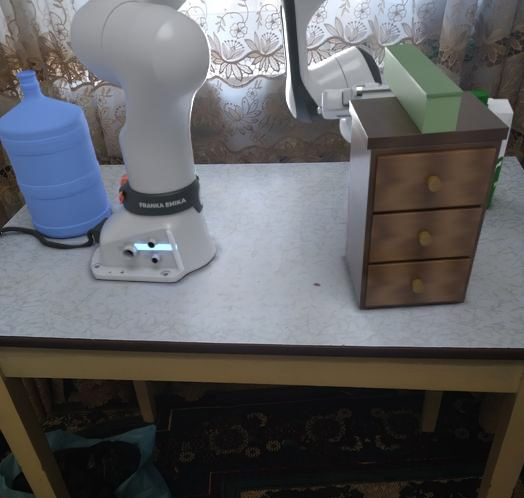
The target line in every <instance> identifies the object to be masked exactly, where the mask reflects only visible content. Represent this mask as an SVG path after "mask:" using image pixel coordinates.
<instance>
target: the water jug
mask: <svg viewBox="0 0 524 498" xmlns="http://www.w3.org/2000/svg"><path fill="white" fill-rule="evenodd" d="M36 74H37V72H36V71H35V70H32V69H31V70H29V69H27V70H23V71H19V72H16V74H15V76H16V78H18V82H19V87H20V89H21V91H22V94H23V99H22V101H20V102H19V103H17V104H16V105H15V106H14V107H12V108H11V109H10V110H9V111H8V112H6V113H5V114H4V115H2V116H1V117H0V142H1V144H2V147H3V149H4V151H5V152H6V155H7V157H8V160H9V162H10V165H11V167H12V170H13V172H14V175H15V180H16V183H17V186H18V188H19V190H20V192H21V194H22V197H23V199H24V201H25V205H26V206H27V210H28V211H29V214H30V217H31V222H32V225H33V226H34V229H35V230H36V231H38V232H39V233H40V234H41V235H42V236H45V237H48V238H55V239H67V238H68V239H69V238H75V237H79V236H83V235H87V232H88V231H89V230H90V229H92V228H94V227H95V226H96V225H97V224H99V223H100V222H101V221H102V220H103V219H104V218H109V217H110V216H111V215H112V206H111V202H110V200H109V198H108V196H107V191H106V188H105V184H104V180H103V178H102V171H101V167H100V164H99V163H100V162H99V161H98V158H97V154H96V151H95V148H94V145H93V140H92V137H91V131H90V127H89V124H88V121H87V118H86V115H85V112H84V110H83V108H82V107H81V106H79V105H78V104H75V103H72V102H67V101H64V100H60V99H57V98H52V97H48V96H45V95H44V94H43V92H42V90H41V86H40V82H39V81H38V80H37V79H38V78H37V76H36Z"/></svg>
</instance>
